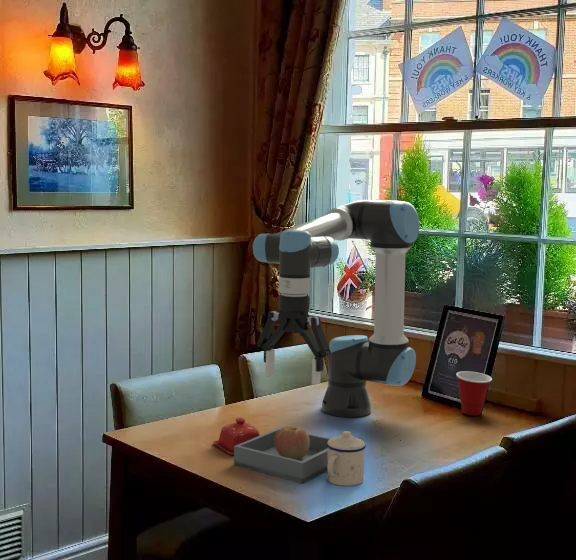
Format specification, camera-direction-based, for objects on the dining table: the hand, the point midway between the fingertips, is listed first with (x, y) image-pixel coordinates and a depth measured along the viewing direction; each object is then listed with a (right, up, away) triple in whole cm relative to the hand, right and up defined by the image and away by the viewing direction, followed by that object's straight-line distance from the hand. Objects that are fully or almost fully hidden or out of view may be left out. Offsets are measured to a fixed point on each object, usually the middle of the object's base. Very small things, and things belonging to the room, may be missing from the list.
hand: (292, 380), depth 200 cm
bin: (-1, -21, +2) cm, 21 cm away
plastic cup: (+56, -17, +51) cm, 77 cm away
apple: (0, -20, +2) cm, 20 cm away
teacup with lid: (+11, -23, -9) cm, 27 cm away
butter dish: (-14, -20, +13) cm, 27 cm away
